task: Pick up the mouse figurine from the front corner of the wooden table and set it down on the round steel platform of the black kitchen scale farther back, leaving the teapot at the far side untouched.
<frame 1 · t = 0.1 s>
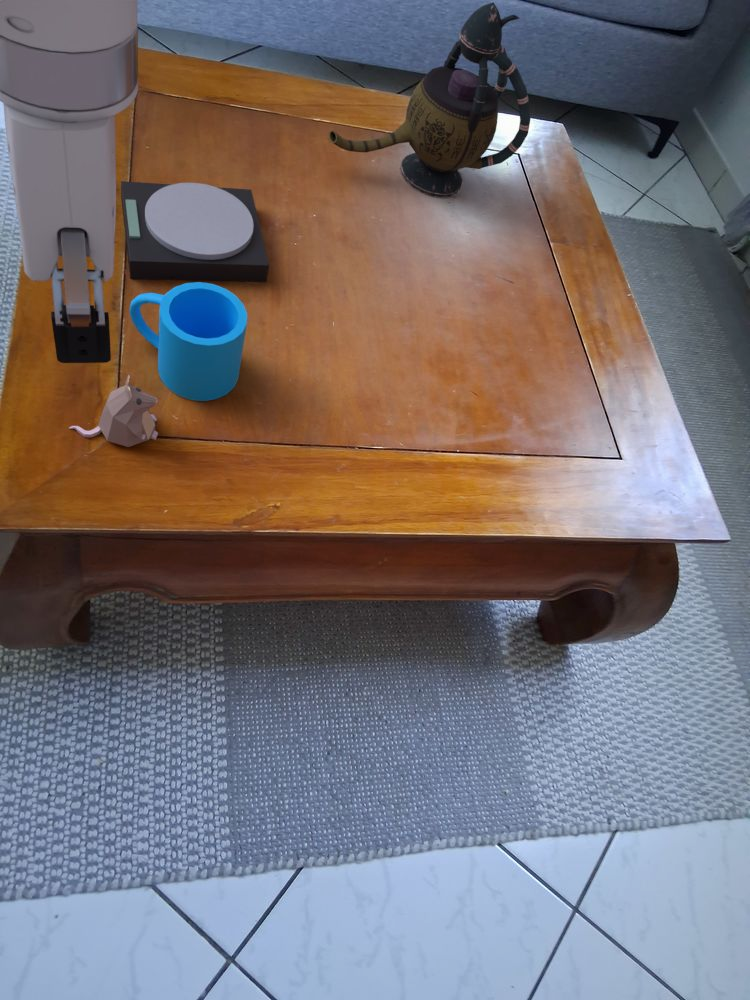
hand: (80, 303, 51), 22 cm above the table, tool pointing down, fingers open, 9 cm apart
mug: (182, 362, 79), on the table
teapot: (407, 176, 106), on the table
mouse figurine: (114, 429, 73), on the table
kitchen scale: (193, 240, 88), on the table
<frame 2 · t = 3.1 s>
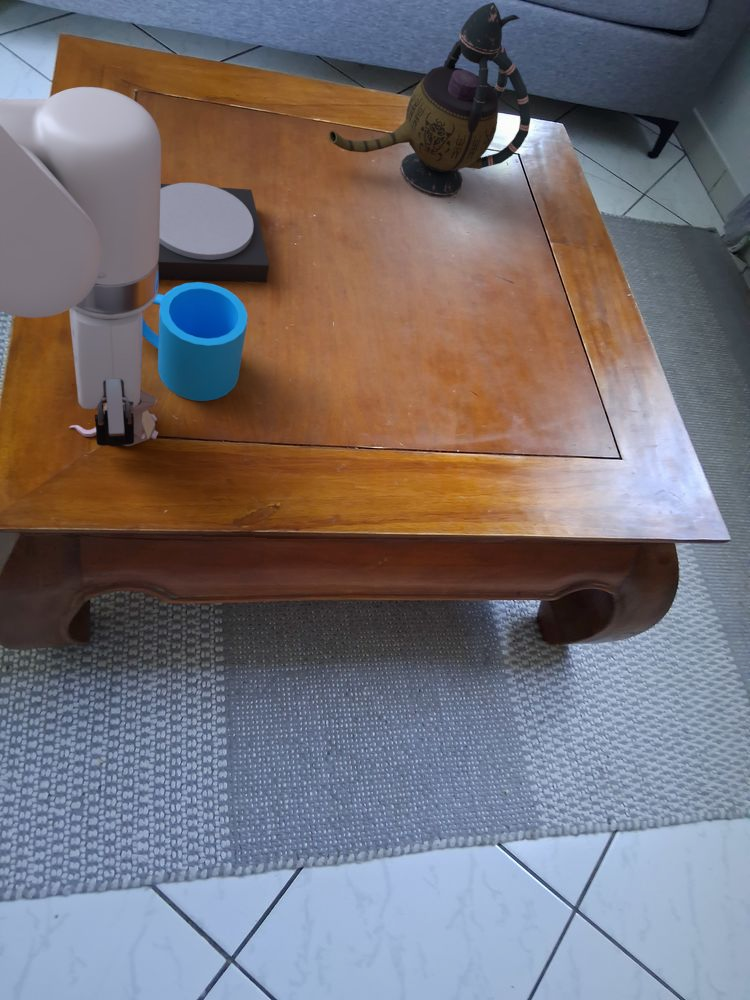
hand: (113, 416, 71), 2 cm above the table, tool pointing down, fingers closed on mouse figurine, 4 cm apart
mouse figurine: (114, 428, 73), on the table, touching gripper
everything else where it was.
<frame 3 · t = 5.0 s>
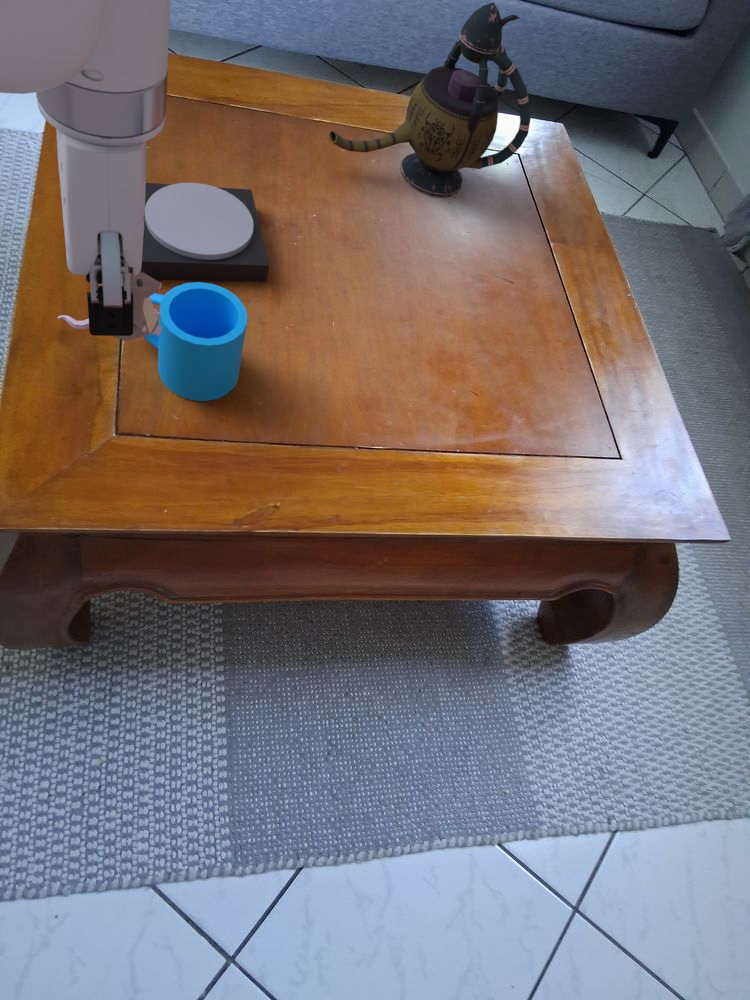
hand: (109, 304, 60), 15 cm above the table, tool pointing down, fingers closed on mouse figurine, 4 cm apart
mouse figurine: (110, 322, 62), point 13 cm above the table, touching gripper
everything else where it was.
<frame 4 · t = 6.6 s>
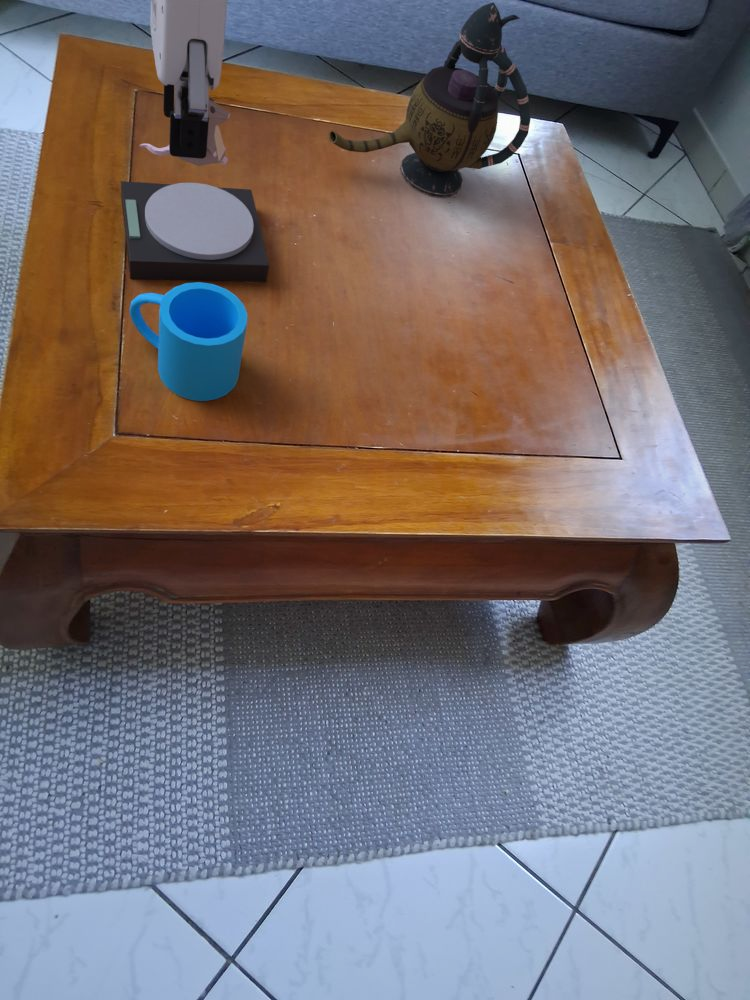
hand: (184, 134, 70), 18 cm above the table, tool pointing down, fingers closed on mouse figurine, 4 cm apart
mouse figurine: (183, 152, 72), point 16 cm above the table, touching gripper
everything else where it was.
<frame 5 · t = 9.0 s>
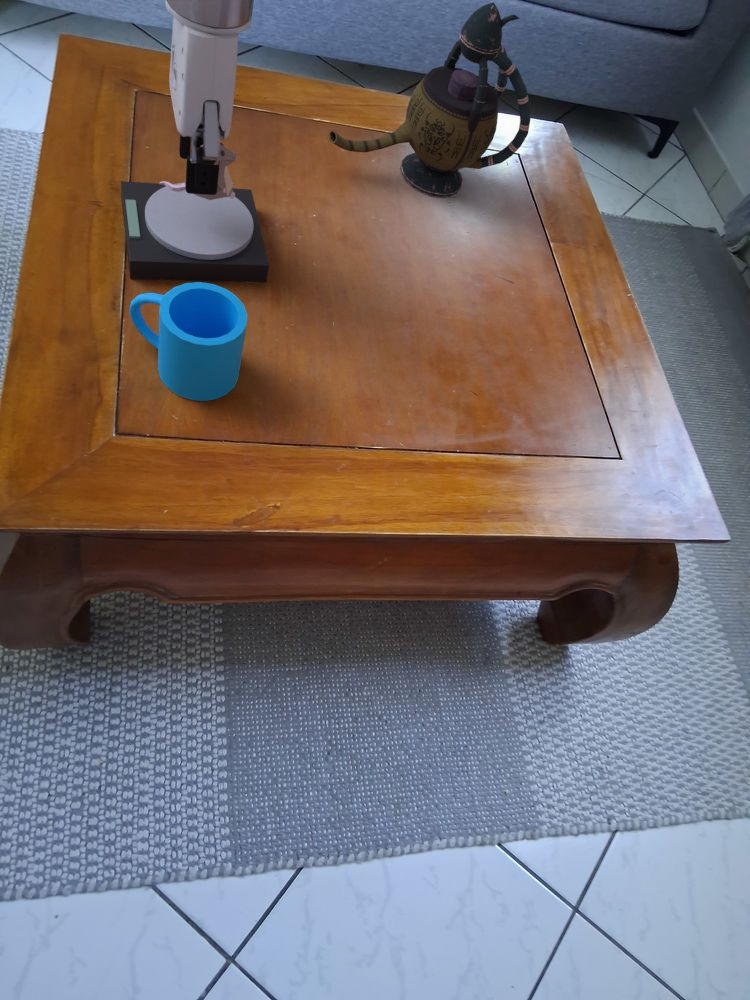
hand: (197, 173, 81), 9 cm above the table, tool pointing down, fingers closed on mouse figurine, 4 cm apart
mouse figurine: (197, 188, 83), point 7 cm above the table, touching gripper
everything else where it was.
when the fingers open (5 cm above the table, at t = 10.4 s): mouse figurine stays where it is, resting on kitchen scale.
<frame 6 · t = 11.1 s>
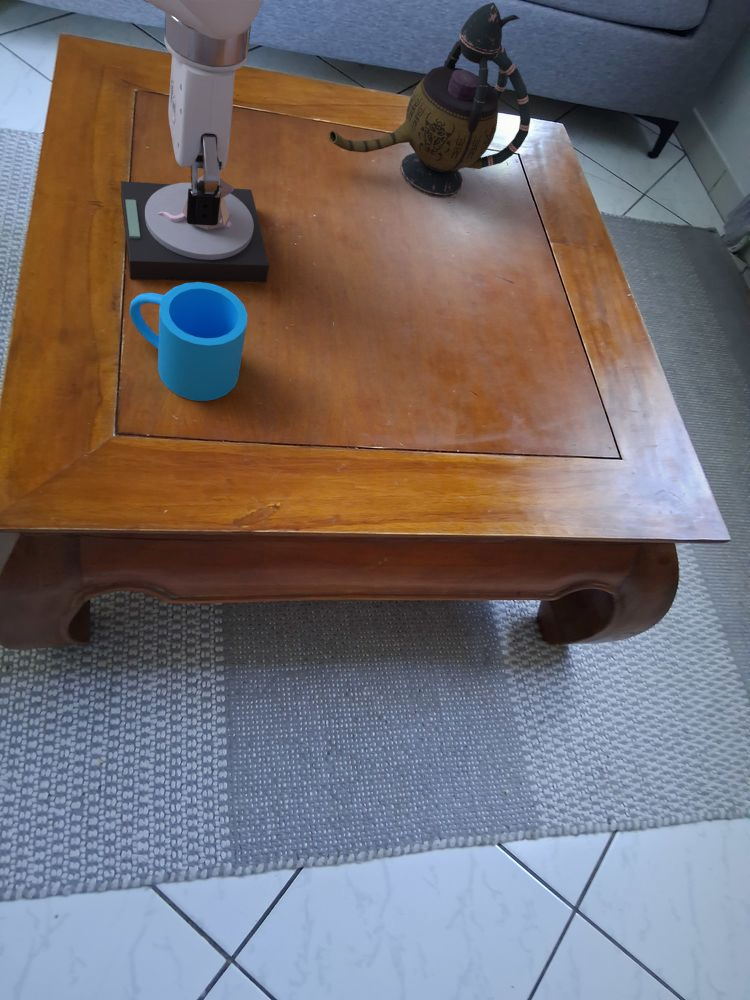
hand: (196, 192, 83), 7 cm above the table, tool pointing down, fingers open, 9 cm apart
mouse figurine: (194, 218, 86), point 3 cm above the table, touching kitchen scale
everything else where it was.
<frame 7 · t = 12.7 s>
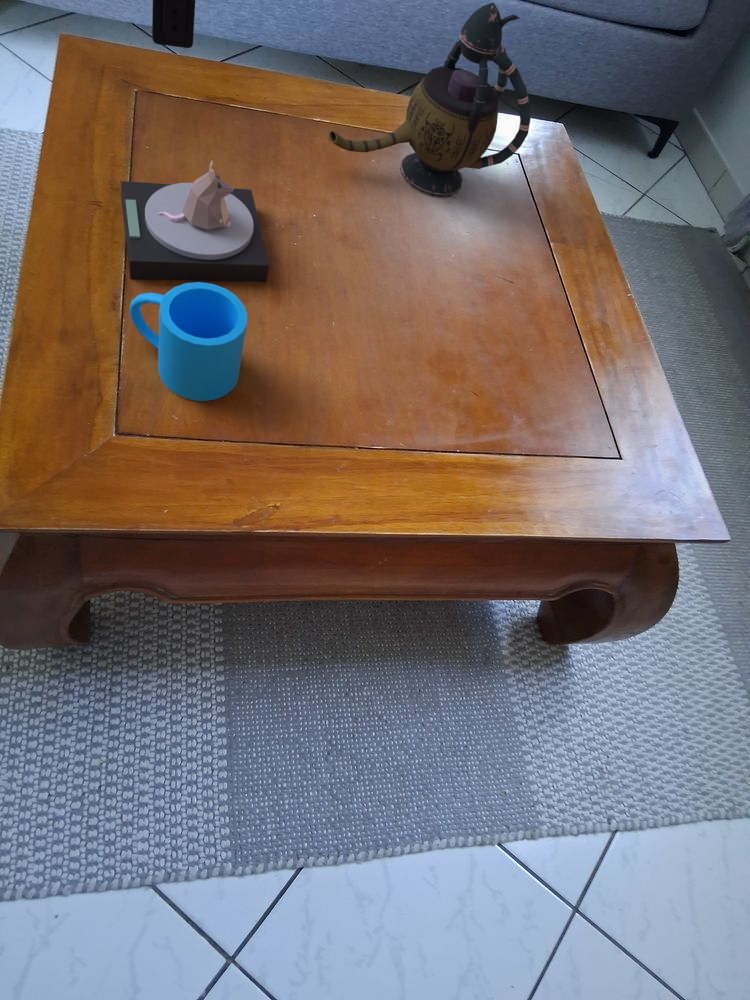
hand: (166, 11, 65), 26 cm above the table, tool pointing down, fingers open, 9 cm apart
nothing on the table moved.
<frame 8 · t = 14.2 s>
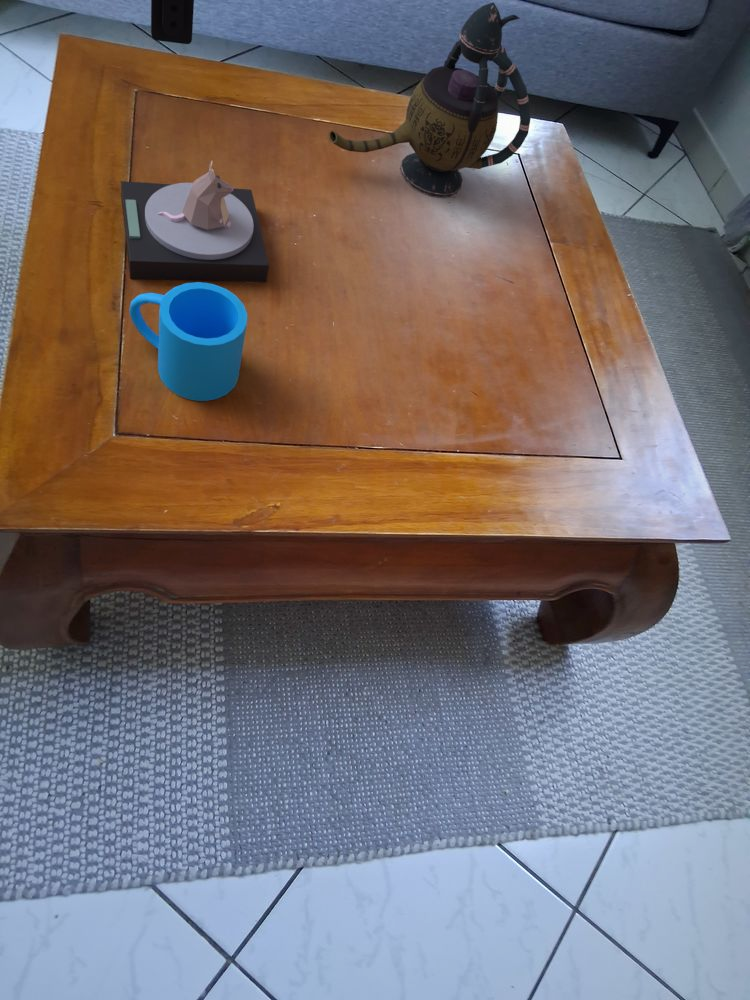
hand: (165, 7, 65), 26 cm above the table, tool pointing down, fingers open, 9 cm apart
nothing on the table moved.
at the end: mouse figurine inside the target area on the kitchen scale (0.5 cm from its centre), point 3.1 cm above the kitchen scale's base; mouse figurine tilted 0°; teapot moved 0.2 cm from its start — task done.
